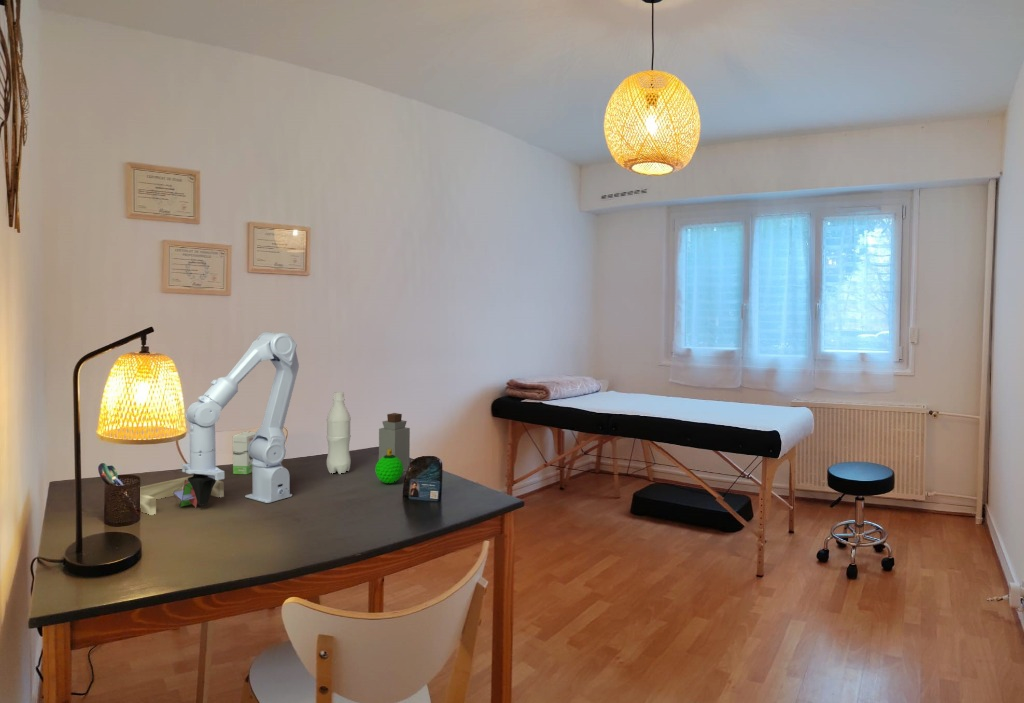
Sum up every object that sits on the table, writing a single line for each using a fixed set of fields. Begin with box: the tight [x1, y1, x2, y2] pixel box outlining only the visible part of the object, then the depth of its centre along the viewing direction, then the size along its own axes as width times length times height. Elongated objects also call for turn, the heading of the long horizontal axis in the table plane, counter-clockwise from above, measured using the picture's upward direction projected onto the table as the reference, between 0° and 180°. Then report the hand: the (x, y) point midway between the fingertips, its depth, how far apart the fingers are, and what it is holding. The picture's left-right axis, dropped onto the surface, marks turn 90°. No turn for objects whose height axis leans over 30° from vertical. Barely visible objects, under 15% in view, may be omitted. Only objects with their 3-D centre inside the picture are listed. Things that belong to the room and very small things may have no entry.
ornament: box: [374, 449, 404, 484], centre depth 184 cm, size 8×8×10 cm
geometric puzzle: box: [173, 480, 198, 509], centre depth 159 cm, size 7×7×8 cm
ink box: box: [232, 430, 256, 475], centre depth 195 cm, size 9×5×12 cm, turn 173°
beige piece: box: [139, 474, 225, 516], centre depth 163 cm, size 13×19×4 cm, turn 148°
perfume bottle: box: [378, 412, 411, 470], centre depth 199 cm, size 7×7×18 cm
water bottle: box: [326, 391, 352, 475], centre depth 195 cm, size 7×7×25 cm
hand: (203, 504), depth 157 cm, fingers closed
